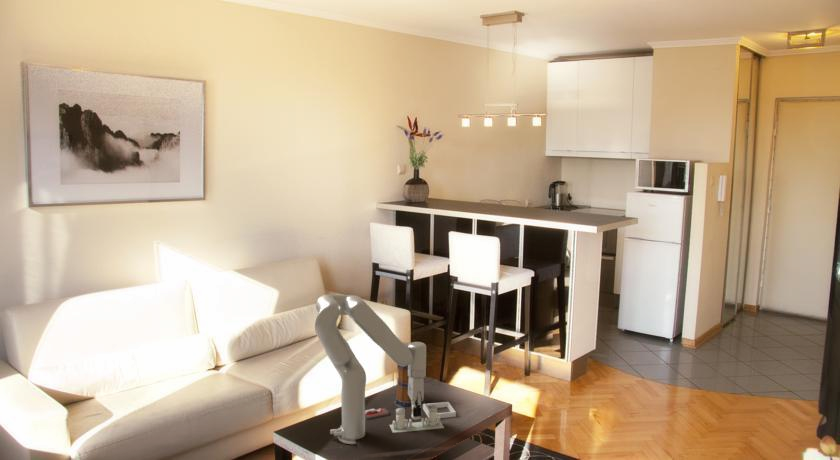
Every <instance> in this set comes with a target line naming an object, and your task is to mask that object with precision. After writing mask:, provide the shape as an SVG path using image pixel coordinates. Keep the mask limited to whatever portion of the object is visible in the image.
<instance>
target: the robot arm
mask: <svg viewBox="0 0 840 460" xmlns="http://www.w3.org/2000/svg"><path fill="white" fill-rule="evenodd" d="M315 307H316V308H315V309H316V311H317V312H318V313H317V315H316V317H315V321H314V330H315V333H316V336H317V338H318V340H319V342H320V344H322V347H323V348H324V351H325V354H326V356H327V357H328V359H329V360H330V362H331V363H332V365H333V367H334V368H335V370H336V371H337V373H338V375H339V377H340V379H341V393H340V394H341V396H340V397H341V401H340V402H341V425H339V427H338V428H332V429H330V430H329V434H330V435H333V436H334V437H336V436H337V440H338V441H339V442H341V443H343V444H345V445H346V444H348V445H357V442H356V440H359V439H361V438H364V437H365V435H366V419H365V410H366V383H367V374H366V371H365V368H364V367H363V366H362V363H360V361H359V360H358V359H357V357H356V355H355V354H354V352H353V350H352V348H351V346H350V344H349V343H348V341H347V340H346V338H344V336H343V334H342V333H341V331H340V329H339V328H338V325H337V322H338V319H339V318H340V316H349V317H350V319H351V320H352V321H353V322H354V323H355V324H356V325H357V326H358V327H359V328H360V329H361V330H362V331H363V332H364V333H365V334H366V335H367V337H369V338H370V339H371V341H372V342H374V343H375V344H376V345H377V346H378V347H379V348H381V350H382V351H384V352H385V353H386V355H387V356H388V357H390V358H391V359H392V360H393V362H394V363H395V365H397V366H398V365H399V366H403V367H404V366H407V365H408V376H409V380H408V395H409V397H410V399H411V408H410V412H411V413H412V401H413V402H414V407H413V416H414V417H418V416H420V417H421V416H422V406H421V401H423V398H424V397H425V395H424V394H425V393H424V392H425V389H424V387H425V383H424V382H425V381H424V378H425V377H426V375H427V374H426V373H427V345H426V343H424V342H421V341H414V342H413V341H412V342H404V341H401V339H399V338H398V337H397V335H396V334H395V333H394V332H393V331H392V330H391V329H392V328H390V327H389V326H388V325H387V323H386V322H385V320H383V319H382V318H381V317H380V316H379V315H378V314H377V313H376V312H375V311H374V310H373V309H372V307H370V306H369V304H367V302H365V301H364V299H363V298H361V296H358V295H352V294H324V295H321V296H320V297H319V298H318V299H317V300H316V303H315ZM416 399H417V400H416ZM424 399H425V398H424ZM416 402H417V403H416Z"/></svg>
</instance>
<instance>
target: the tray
mask: <svg viewBox="0 0 840 460" xmlns="http://www.w3.org/2000/svg"><path fill="white" fill-rule="evenodd" d="M430 405H436V406H437V409H441V408H447V409H448V410H449V411H448V412H446V411H445V412H437V417H440V418H441V419H447V418H456V417H457V412H456V410H455V409H454V408H453V406H452V405H451V403H450V402H449V401H442V402H431V403H425V404H423V406H422V409H423V411H424V413H425V415H426V416H427V418H428V419H429V411H428V406H430Z"/></svg>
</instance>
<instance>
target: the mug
mask: <svg viewBox="0 0 840 460" xmlns="http://www.w3.org/2000/svg"><path fill="white" fill-rule="evenodd" d="M397 373H398V374H397V389H396V396H394V397H395V398H394V399H395V400H393V402H394V405H395V406H397V408H404V409H411V399H410V397H409V395H408V380H409V376H408V365H407V366H404V367H403V366H399V365H397ZM423 404H426V401H425V398H423V401H421V407H423Z"/></svg>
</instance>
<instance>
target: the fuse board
mask: <svg viewBox="0 0 840 460" xmlns="http://www.w3.org/2000/svg"><path fill="white" fill-rule="evenodd" d="M420 419H421V421H415V422H413V419H412V418H408V419H407V418H405V429H403V430H398V429H396V419H394V420H392V424H389V427H390V429H391V432H392V434H394V433H405V432H415V431H426V430H436V429H445V427H444V425H443V423H442V422H441V419H442V418H440V417H437V426H435V427H431V426H429V425H428V421H429V418H428V417H420Z"/></svg>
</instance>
